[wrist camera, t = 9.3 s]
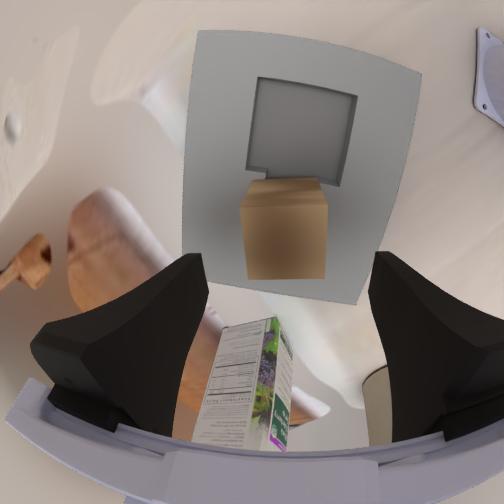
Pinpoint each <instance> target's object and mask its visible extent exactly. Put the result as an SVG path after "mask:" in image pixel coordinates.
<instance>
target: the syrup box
mask: <svg viewBox="0 0 504 504" xmlns="http://www.w3.org/2000/svg"><path fill="white" fill-rule="evenodd" d="M292 361H293V351H292V349H291V347H290V345H289V342H288V340H287V338H286V336H285V334H284V332H283V330H282V328H281V326H280V324H279V322H278V320H277V318H276V317H272V318H267V319H263V320H259V321H254V322H250V323H245V324H241V325H237V326H232V327H228V328H224V329H223V331H222V335H221V338H220V342H219V346H218V349H217V352H216V356H215V359H214V363H213V366H212V370H211V373H210V376H209V380H208V384H207V387H206V391H205V394H204V398H203V401H202V405H201V408H200V411H199V415H198V419H197V422H196V426H195V429H194V433H193V437H192V440H191V442H195V443H200V444H206V445H213V446H220V447H227V448H236V449H246V450H259V451H280V452H286V451H287V440H288V430H289V418H290V404H291V387H292Z"/></svg>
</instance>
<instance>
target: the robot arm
mask: <svg viewBox="0 0 504 504" xmlns="http://www.w3.org/2000/svg"><path fill="white" fill-rule="evenodd" d="M477 35H478V55H477V75H476V87H475V96H474V106H475V108H476V109H477V110H479V111H480V112H482V113H484V114H485V115H487V116H488V117H490V118H491V119H493V120H494V121H496V122H497V123H499V124H500V125H502V126H503V127H504V43H502V42H501V41H500V40H499V39H497V38H496V37H495V36H493V35H492V34H491V33H489V32H488V31H487V30H485V29H484V28H482V27H480V28H478V29H477ZM486 35H487V36H486ZM483 105H484V109H483ZM208 294H209V290H208V285H207V280H206V275H205V270H204V265H203V260H202V255H201V253H187V254H185V255H183V256H182V257H180V258H179V259H177V260H176V261H174V262H173V263H171V264H170V265H169V266H167V267H166V268H164V269H163V270H162V271H160V272H159V273H157V274H156V275H155V276H153V277H152V278H150V279H149V280H147V281H145V282H144V283H142V284H141V285H139V286H138V287H136V288H135V289H133V290H131V291H130V292H128V293H126V294H124V295H122V296H121V297H119V298H117V299H115V300H113V301H111V302H108V303H106V304H104V305H102V306H99V307H97V308H95V309H92V310H90V311H87V312H84V313H82V314H79V315H76V316H72V317H69V318H65V319H62V320H57V321H54V322H50V323H46V324H45V325H44V326H43V327H42V329H41V330H40V331H39V333H38V334H37V335H36V336H35V338H34V339H33V340H32V342H31V344H30V348H31V352H32V354H33V356H34V358H35V359H36V361H37V362H38V364H39V365H40V366H41V368H42V369H43V370H44V371H45V372H46V374H47V375H48V376H49V377H50V379H51V380H52V381H53V382H54V383H55V385H54V387H53V389H51V388H49V387H48V386H47V385H45V384H44V383H42V382H40V381H38V380H36V379H34V378H32V377H30V378H29V379H28V381H27V382H26V384H25V385H24V387H23V389H22V390H21V392H20V393H19V395H18V397H17V399H16V400H15V402H14V404H13V405H12V407H11V409H10V410H9V412H8V414H7V416H6V418H5V422H6V423H7V424H8V425H10V426H11V427H12V428H13V429H14V430H16V431H17V432H18V433H19V434H20V435H22V436H23V437H24V438H26V439H27V440H28V441H30V442H31V443H32V444H34V445H35V446H36V447H38V448H39V449H40V450H42V451H43V452H45V453H46V454H48V455H50V456H51V457H53V458H54V459H56V460H57V461H59V462H60V463H62V464H64V465H65V466H67V467H69V468H71V469H72V470H74V471H76V472H78V473H80V474H81V475H83V476H85V477H87V478H88V479H90V480H92V481H94V482H96V483H98V484H100V485H103V486H105V487H107V488H109V489H111V490H114V491H116V492H118V493H120V494H123V495H125V496H126V498H125V501H124V504H434V503H437V502H440V501H442V500H445V499H447V498H450V497H452V496H455V495H457V494H459V493H461V492H464V491H466V490H468V489H470V488H472V487H474V486H476V485H478V484H480V483H482V482H484V481H486V480H488V479H490V478H491V477H493V476H495V475H497V474H498V473H500V472H502V471H504V320H502V319H500V318H497V317H494V316H492V315H489V314H487V313H484V312H482V311H480V310H478V309H476V308H474V307H472V306H470V305H468V304H466V303H464V302H462V301H460V300H458V299H457V298H455V297H453V296H452V295H450V294H448V293H446V292H445V291H443V290H442V289H440V288H439V287H437V286H436V285H435V284H433V283H432V282H430V281H429V280H427V279H426V278H425V277H423V276H422V275H421V274H419V273H418V272H417V271H415V270H414V269H413V268H411V267H410V266H409V265H408V264H406V263H405V262H404V261H402V260H401V259H400V258H398V257H397V256H395V255H394V254H392V253H391V252H389V251H375V256H374V262H373V268H372V274H371V279H370V284H369V289H368V294H369V300H370V305H371V310H372V314H373V317H374V320H375V323H376V326H377V329H378V333H379V336H380V339H381V342H382V346H383V349H384V352H385V356H386V360H387V366H388V373H389V380H390V389H391V401H392V443H389V444H384V445H377V446H371V447H363V448H355V449H345V450H335V451H334V450H332V451H312V452H280V451H259V450H246V449H236V448H227V447H220V446H213V445H206V444H200V443H195V442H189V441H184V440H180V439H175V438H172V429H173V421H174V414H175V408H176V401H177V396H178V391H179V387H180V382H181V377H182V373H183V369H184V365H185V361H186V358H187V355H188V352H189V350H190V347H191V344H192V342H193V339H194V337H195V334H196V332H197V329H198V327H199V324H200V322H201V319H202V317H203V314H204V311H205V307H206V303H207V299H208Z"/></svg>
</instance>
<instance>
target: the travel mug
mask: <svg viewBox="0 0 504 504" xmlns="http://www.w3.org/2000/svg"><path fill="white" fill-rule="evenodd" d="M363 395H364V402H365V409H366V417H367V426H368V435H369V445H370V447H371V446H377V445H384V444H389V443H392V401H391V389H390V380H389V373H388V367H385V368H383V369H381V370H379V371H377V372H376V373H374V374H373V375H371V376H370V377H369V378H368V379H367V380H366V381H365V383H364V385H363Z"/></svg>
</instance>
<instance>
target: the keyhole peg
mask: <svg viewBox="0 0 504 504" xmlns="http://www.w3.org/2000/svg"><path fill="white" fill-rule="evenodd" d="M240 215H241V224H242V233H243V241H244V250H245V258H246V267H247V275H248V280H286V279H325V267H326V249H327V224H328V204H327V202H326V199H325V196H324V194H323V192H322V189H321V187H320V184H319V182H318V179H317V178H280V179H258V180H252V182H251V184H250V186H249V188H248V190H247V193H246V195H245V197H244V199H243V201H242V204H241V206H240Z"/></svg>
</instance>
